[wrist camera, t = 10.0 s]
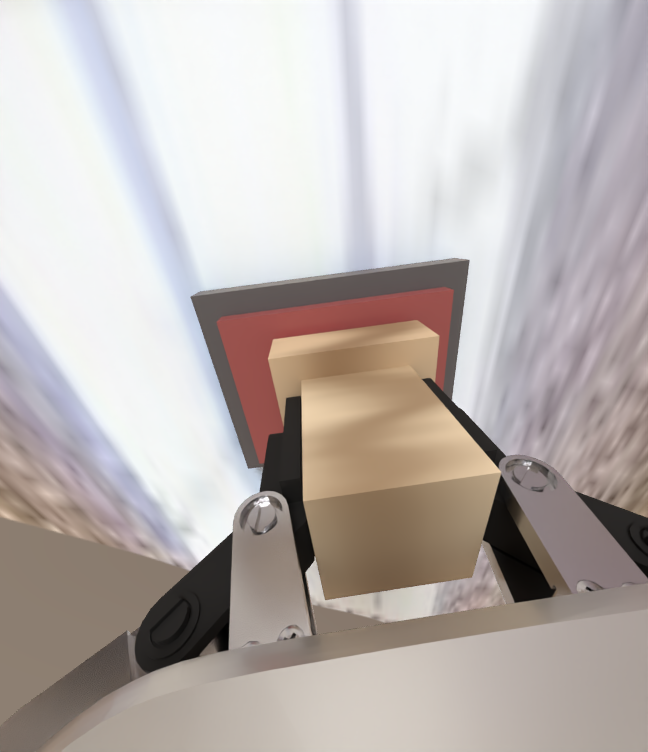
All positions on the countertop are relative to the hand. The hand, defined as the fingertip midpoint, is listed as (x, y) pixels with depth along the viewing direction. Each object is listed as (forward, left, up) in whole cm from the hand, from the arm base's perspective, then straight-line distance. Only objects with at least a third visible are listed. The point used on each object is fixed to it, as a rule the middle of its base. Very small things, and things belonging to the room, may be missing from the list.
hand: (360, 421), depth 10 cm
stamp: (0, 0, -3) cm, 3 cm away
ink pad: (0, 0, -5) cm, 5 cm away
